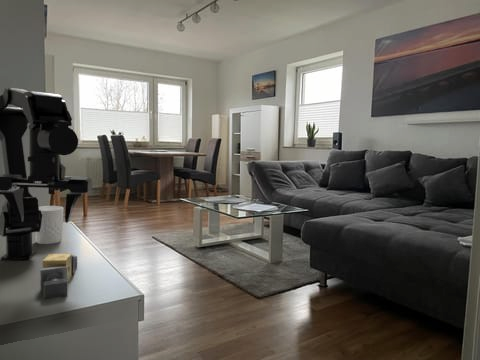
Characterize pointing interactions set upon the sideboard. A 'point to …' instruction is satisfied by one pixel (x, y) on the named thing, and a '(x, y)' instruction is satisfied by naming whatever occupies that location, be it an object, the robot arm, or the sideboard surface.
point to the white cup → (50, 225)
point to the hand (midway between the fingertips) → (44, 222)
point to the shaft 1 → (53, 282)
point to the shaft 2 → (73, 264)
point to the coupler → (58, 262)
